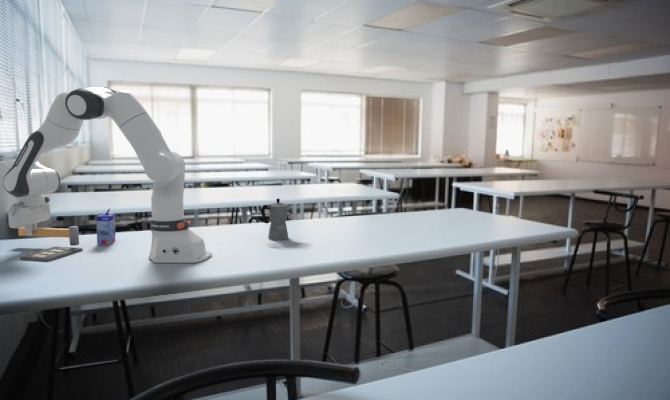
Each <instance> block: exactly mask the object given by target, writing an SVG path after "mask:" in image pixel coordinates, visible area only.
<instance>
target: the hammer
mask: <svg viewBox="0 0 670 400" xmlns="http://www.w3.org/2000/svg"><path fill="white" fill-rule="evenodd" d="M17 232H18V236H19V237H22V236H23V237H24V236H25V237H29V236H28V235H27V231H26V229H25V228H24V227H21V228H17ZM79 235H80V234H79V226H78V225H72V226H68V228H63V227H60V228H58V227H57V228H55V227H37V228H36V234H35V235H32V236H31V237H42V238H43V237H46V238H47V237H49V238H69V246H73V247H74V246H79V245H80V237H79Z"/></svg>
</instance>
